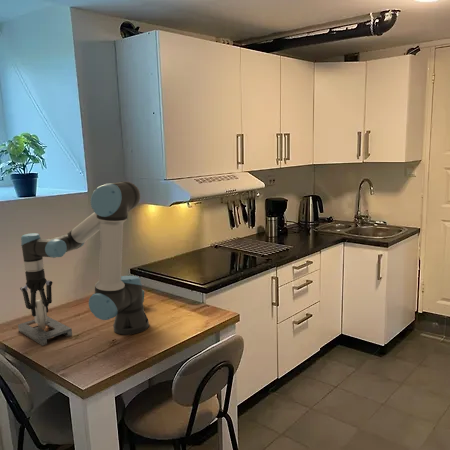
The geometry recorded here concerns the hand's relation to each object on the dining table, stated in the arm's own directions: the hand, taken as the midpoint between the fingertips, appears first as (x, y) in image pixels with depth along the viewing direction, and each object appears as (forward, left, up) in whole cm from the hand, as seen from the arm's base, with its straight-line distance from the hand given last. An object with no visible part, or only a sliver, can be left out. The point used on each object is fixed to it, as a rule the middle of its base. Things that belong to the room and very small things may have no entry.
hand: (41, 321), depth 195 cm
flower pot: (-9, -42, -5) cm, 43 cm away
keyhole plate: (-3, 0, -5) cm, 5 cm away
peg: (0, 0, -5) cm, 5 cm away
